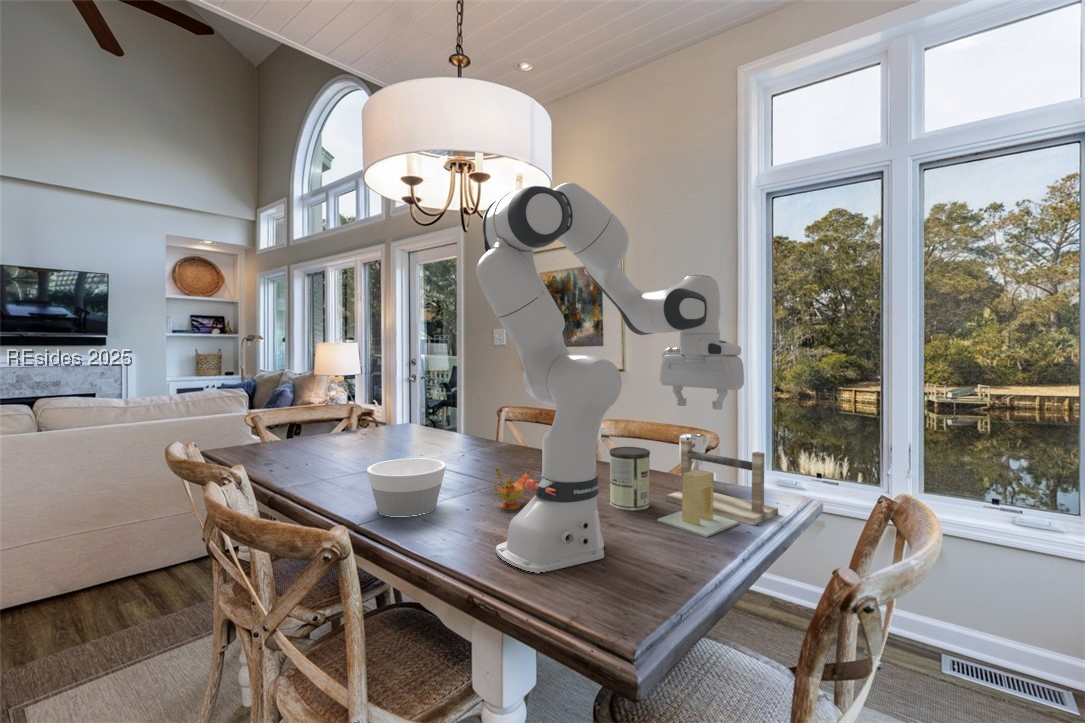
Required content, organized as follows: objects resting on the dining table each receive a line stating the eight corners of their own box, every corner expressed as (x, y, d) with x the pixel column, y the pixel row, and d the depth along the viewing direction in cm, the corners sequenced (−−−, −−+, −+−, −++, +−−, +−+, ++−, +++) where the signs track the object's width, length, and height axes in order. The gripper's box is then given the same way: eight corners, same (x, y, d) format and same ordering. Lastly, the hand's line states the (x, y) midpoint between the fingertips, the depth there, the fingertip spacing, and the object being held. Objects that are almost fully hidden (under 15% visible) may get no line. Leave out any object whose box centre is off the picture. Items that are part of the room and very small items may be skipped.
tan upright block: (697, 525, 112) (697, 476, 112) (682, 520, 116) (682, 473, 115) (713, 519, 116) (713, 472, 116) (698, 515, 120) (698, 469, 119)
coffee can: (615, 496, 136) (616, 445, 136) (653, 501, 132) (653, 448, 132) (604, 507, 127) (604, 452, 127) (644, 513, 123) (644, 455, 122)
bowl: (385, 527, 113) (384, 480, 112) (355, 507, 127) (355, 465, 127) (460, 510, 125) (460, 467, 125) (425, 493, 140) (424, 454, 139)
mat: (706, 537, 107) (706, 534, 107) (657, 521, 117) (657, 518, 117) (739, 523, 115) (739, 521, 115) (690, 509, 125) (690, 507, 125)
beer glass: (700, 483, 150) (701, 433, 149) (705, 490, 143) (706, 437, 142) (676, 483, 150) (677, 433, 150) (680, 489, 143) (681, 437, 143)
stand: (752, 525, 114) (753, 457, 114) (666, 500, 133) (666, 442, 132) (778, 514, 122) (778, 450, 121) (692, 492, 140) (693, 437, 140)
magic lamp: (542, 497, 136) (542, 456, 136) (506, 516, 120) (506, 470, 120) (520, 493, 139) (520, 454, 139) (483, 512, 123) (482, 467, 123)
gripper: (654, 347, 121) (653, 404, 121) (732, 347, 105) (731, 412, 106) (670, 347, 125) (669, 402, 125) (748, 347, 109) (747, 410, 109)
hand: (698, 407), depth 115 cm, fingers open, 8 cm apart
